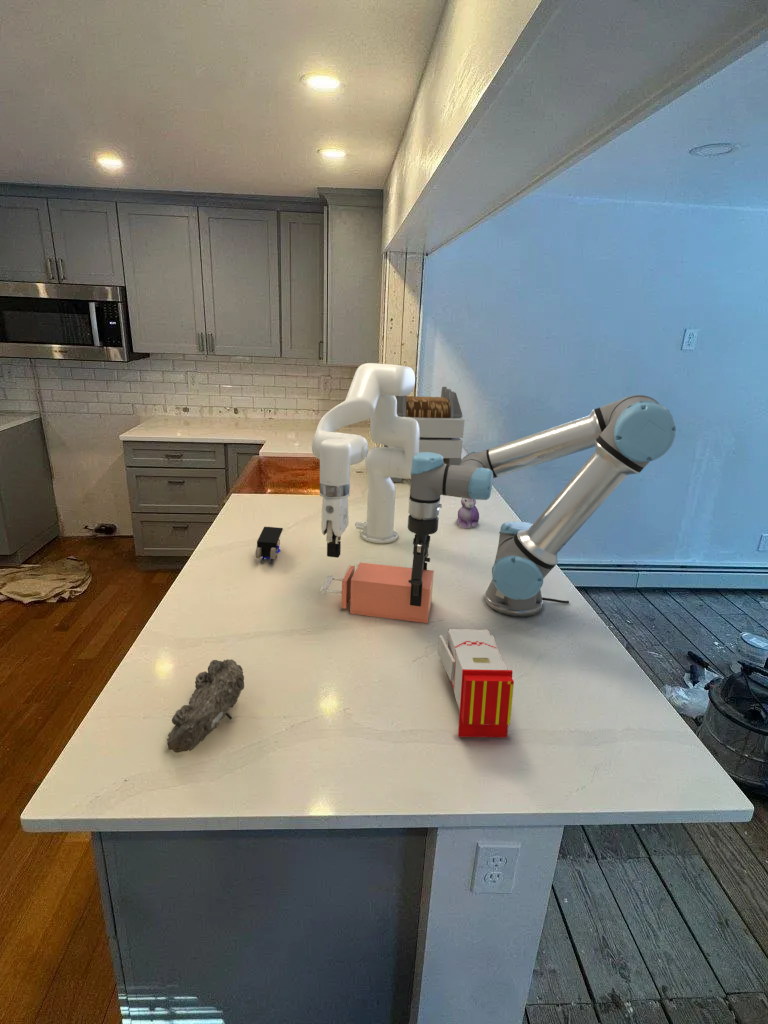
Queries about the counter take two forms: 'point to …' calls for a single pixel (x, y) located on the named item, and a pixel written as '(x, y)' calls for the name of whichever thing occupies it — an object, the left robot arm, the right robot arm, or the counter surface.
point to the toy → (478, 682)
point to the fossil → (206, 705)
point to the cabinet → (389, 593)
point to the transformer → (435, 424)
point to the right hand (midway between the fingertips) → (418, 594)
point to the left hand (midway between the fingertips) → (333, 555)
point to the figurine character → (268, 543)
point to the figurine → (468, 514)
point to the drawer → (345, 586)
